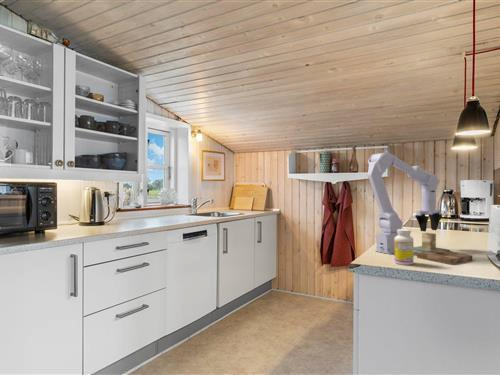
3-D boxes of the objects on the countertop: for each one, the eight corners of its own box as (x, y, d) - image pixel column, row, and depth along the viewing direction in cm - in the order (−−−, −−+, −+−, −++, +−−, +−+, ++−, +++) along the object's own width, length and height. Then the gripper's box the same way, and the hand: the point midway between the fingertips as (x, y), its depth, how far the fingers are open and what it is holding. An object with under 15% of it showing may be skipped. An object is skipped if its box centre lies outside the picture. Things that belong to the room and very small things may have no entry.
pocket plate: (450, 264, 131) (450, 259, 131) (417, 257, 143) (417, 252, 143) (472, 260, 137) (472, 255, 137) (438, 254, 150) (438, 249, 150)
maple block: (430, 249, 156) (430, 234, 156) (422, 248, 160) (422, 233, 160) (435, 249, 158) (435, 233, 158) (427, 247, 162) (427, 232, 162)
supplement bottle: (397, 260, 138) (397, 228, 138) (415, 263, 134) (415, 229, 134) (392, 263, 133) (392, 230, 133) (410, 266, 129) (410, 231, 129)
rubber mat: (432, 253, 151) (432, 252, 151) (408, 249, 162) (408, 247, 162) (449, 250, 157) (449, 249, 157) (425, 246, 167) (425, 245, 167)
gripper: (426, 201, 152) (426, 232, 152) (447, 200, 159) (447, 230, 159) (412, 200, 158) (412, 230, 158) (432, 199, 165) (432, 228, 165)
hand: (428, 230), depth 159 cm, fingers open, 7 cm apart
